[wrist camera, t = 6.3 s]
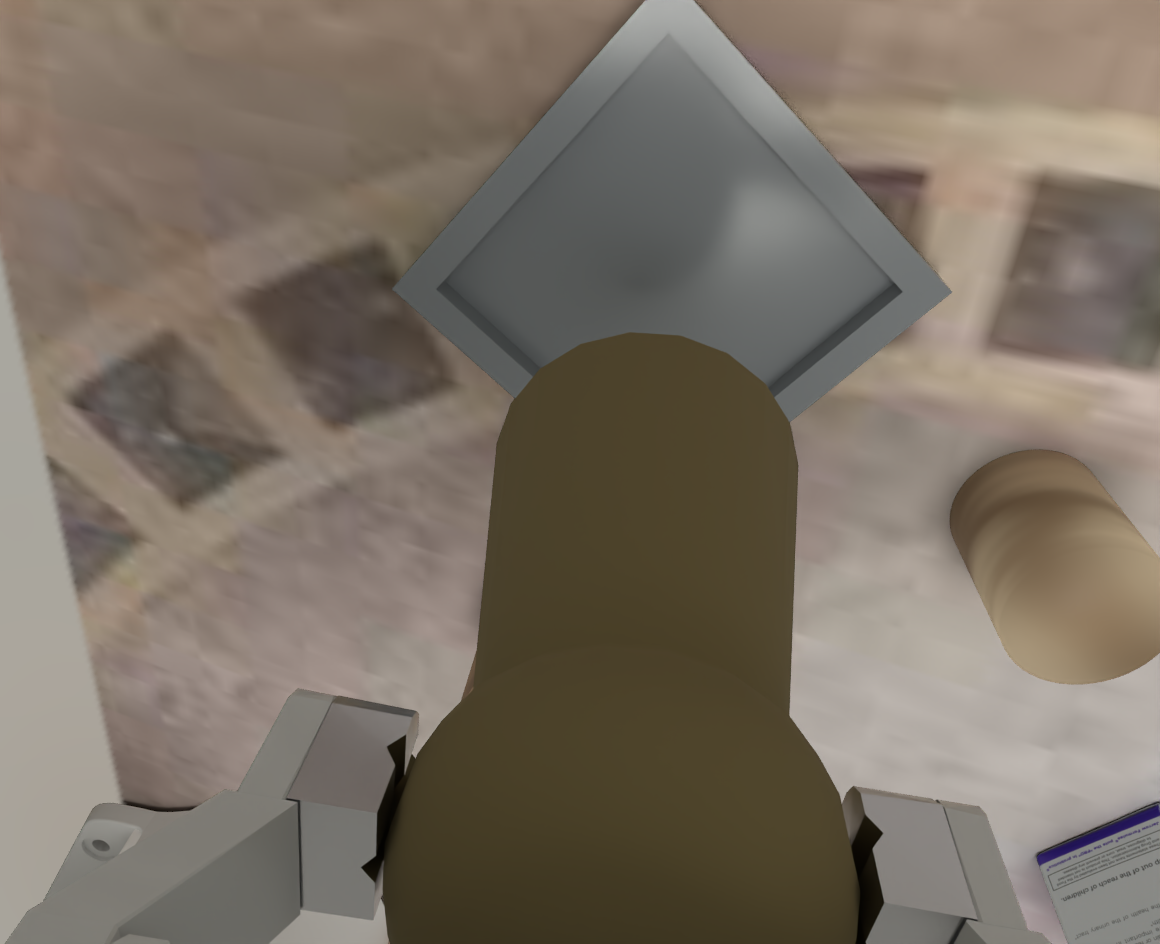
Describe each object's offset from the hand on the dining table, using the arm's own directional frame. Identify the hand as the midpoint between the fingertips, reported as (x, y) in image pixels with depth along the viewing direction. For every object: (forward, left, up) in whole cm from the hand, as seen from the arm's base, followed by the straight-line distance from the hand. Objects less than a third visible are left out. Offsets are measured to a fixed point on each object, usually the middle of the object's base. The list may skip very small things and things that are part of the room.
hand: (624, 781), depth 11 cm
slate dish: (0, 0, -21) cm, 21 cm away
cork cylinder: (+3, -15, -21) cm, 26 cm away
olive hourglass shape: (0, 0, -8) cm, 8 cm away
